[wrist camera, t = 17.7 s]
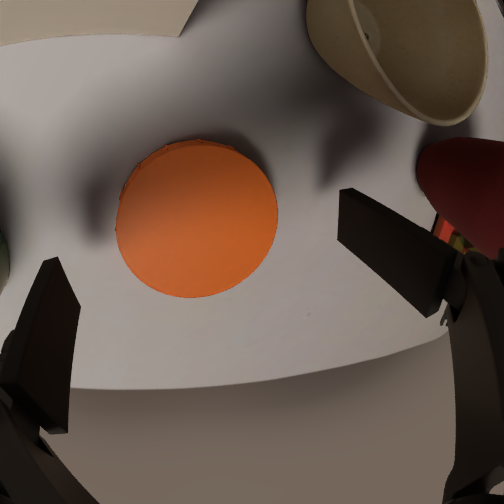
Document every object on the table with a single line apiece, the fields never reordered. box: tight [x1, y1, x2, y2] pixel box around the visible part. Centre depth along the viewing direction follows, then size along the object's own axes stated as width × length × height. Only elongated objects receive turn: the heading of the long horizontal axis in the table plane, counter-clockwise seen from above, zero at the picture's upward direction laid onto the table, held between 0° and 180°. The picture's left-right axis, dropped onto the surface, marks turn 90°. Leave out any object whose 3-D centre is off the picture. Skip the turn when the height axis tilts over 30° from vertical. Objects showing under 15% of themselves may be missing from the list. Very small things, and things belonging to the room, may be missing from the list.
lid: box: [115, 138, 278, 298], centre depth 15 cm, size 8×8×2 cm
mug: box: [417, 137, 504, 260], centre depth 16 cm, size 11×8×10 cm
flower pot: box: [306, 0, 488, 126], centre depth 10 cm, size 10×10×7 cm
